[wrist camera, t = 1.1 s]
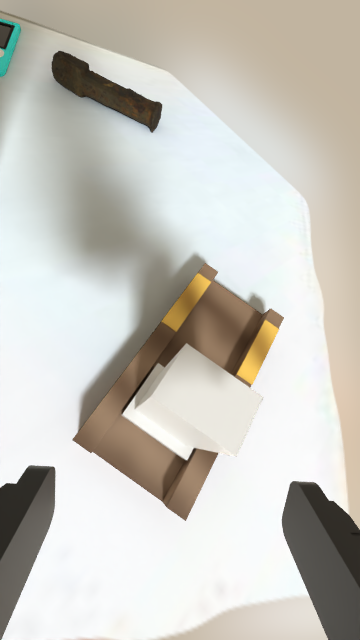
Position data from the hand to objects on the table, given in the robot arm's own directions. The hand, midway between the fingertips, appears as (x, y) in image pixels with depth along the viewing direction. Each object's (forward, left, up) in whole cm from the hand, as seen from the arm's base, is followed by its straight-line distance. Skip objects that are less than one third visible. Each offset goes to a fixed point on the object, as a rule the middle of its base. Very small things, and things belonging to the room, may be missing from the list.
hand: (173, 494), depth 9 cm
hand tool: (-54, -1, -21) cm, 58 cm away
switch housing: (-7, +7, -21) cm, 23 cm away
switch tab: (-3, +4, -18) cm, 19 cm away
